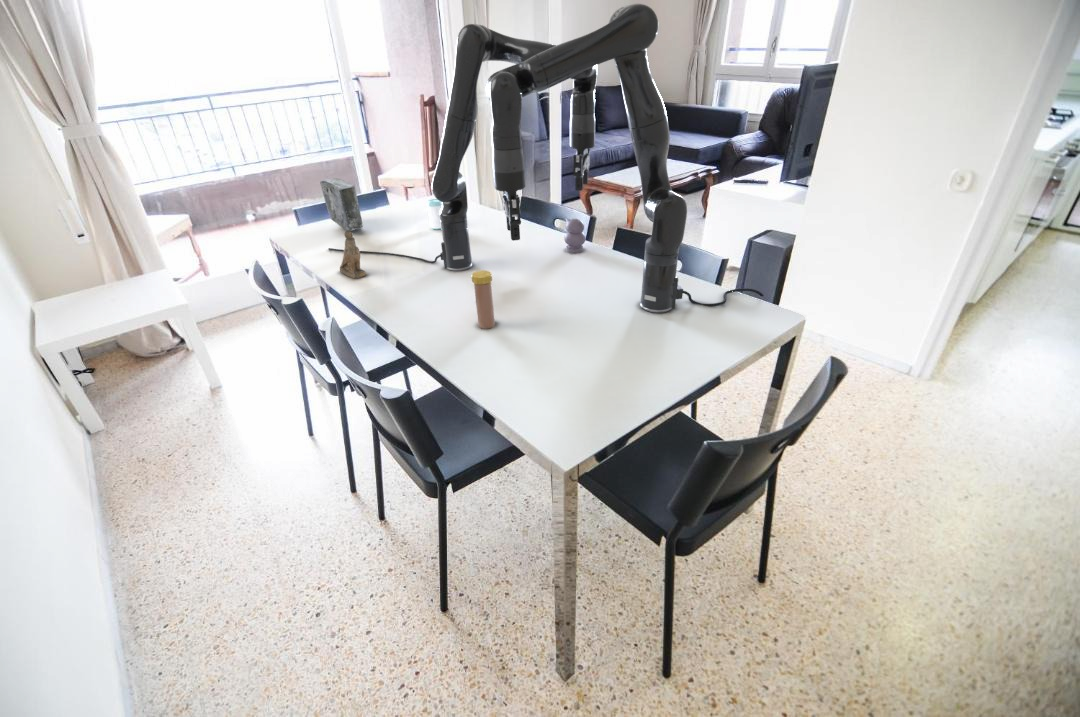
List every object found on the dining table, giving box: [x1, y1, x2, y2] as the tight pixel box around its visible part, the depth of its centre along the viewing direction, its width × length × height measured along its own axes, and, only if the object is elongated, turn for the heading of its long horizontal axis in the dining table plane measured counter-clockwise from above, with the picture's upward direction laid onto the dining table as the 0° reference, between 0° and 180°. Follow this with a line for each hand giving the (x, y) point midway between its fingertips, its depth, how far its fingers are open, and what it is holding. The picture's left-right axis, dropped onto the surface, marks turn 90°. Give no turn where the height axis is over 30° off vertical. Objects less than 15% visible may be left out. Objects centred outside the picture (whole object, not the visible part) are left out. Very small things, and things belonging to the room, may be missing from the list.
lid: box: [471, 270, 493, 284], centre depth 133 cm, size 5×5×2 cm
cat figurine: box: [563, 217, 587, 254], centre depth 188 cm, size 8×8×12 cm
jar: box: [473, 281, 496, 330], centre depth 137 cm, size 5×5×15 cm
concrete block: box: [319, 177, 364, 232], centre depth 222 cm, size 27×9×20 cm, turn 36°
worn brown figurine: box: [339, 230, 367, 280], centre depth 174 cm, size 12×6×18 cm, turn 43°
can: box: [426, 198, 443, 230], centre depth 220 cm, size 7×7×12 cm
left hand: (581, 186), depth 155 cm, fingers open, 8 cm apart
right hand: (513, 234), depth 127 cm, fingers open, 8 cm apart
